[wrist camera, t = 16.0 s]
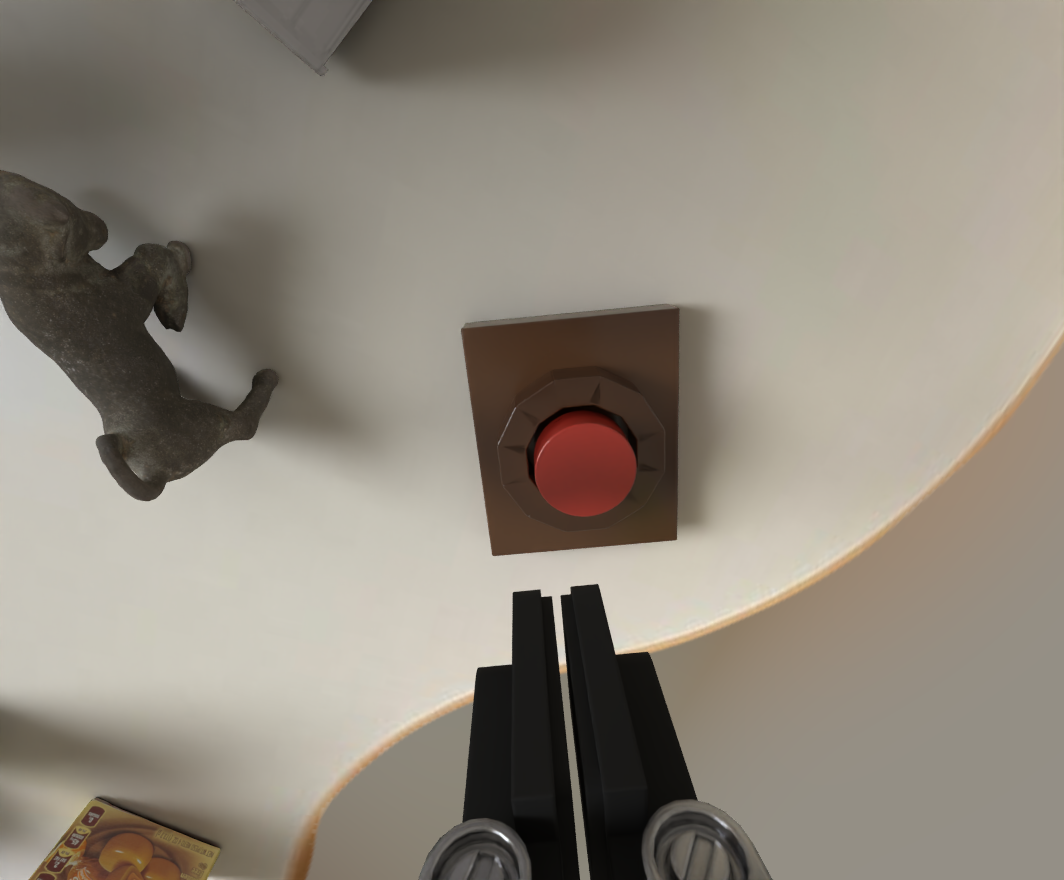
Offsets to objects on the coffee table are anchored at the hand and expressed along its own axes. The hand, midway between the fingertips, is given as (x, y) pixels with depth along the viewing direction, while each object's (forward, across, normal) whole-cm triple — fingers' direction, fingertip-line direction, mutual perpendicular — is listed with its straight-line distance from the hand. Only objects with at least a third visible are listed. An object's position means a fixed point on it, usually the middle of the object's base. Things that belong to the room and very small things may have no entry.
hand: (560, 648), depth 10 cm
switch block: (+15, -2, +1) cm, 15 cm away
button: (+12, -2, +1) cm, 12 cm away
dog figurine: (+15, +15, -6) cm, 22 cm away
